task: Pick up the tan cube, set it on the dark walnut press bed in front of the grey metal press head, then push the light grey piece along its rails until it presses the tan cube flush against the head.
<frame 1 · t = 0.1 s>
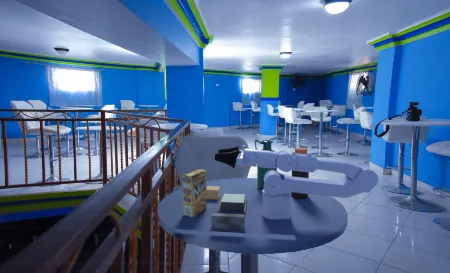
hand: (216, 154, 97), 22 cm above the table, tool horizontal, fingers open, 7 cm apart
candy box: (195, 214, 101), on the table
tan cube: (213, 199, 116), on the table
light grey piece: (233, 202, 106), point 3 cm above the table, slide at 0.0 cm
bottle: (299, 196, 119), on the table
pitcher: (265, 188, 130), on the table
press bed: (231, 216, 100), on the table
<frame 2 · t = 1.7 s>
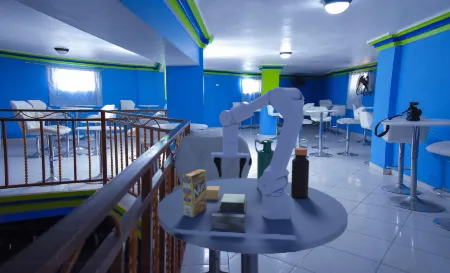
hand: (230, 177, 111), 10 cm above the table, tool pointing down, fingers open, 7 cm apart
nothing on the table moved.
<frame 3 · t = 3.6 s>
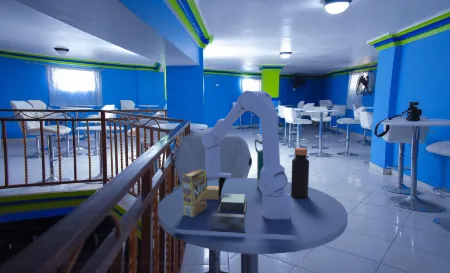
hand: (213, 195, 115), 2 cm above the table, tool pointing down, fingers closed on tan cube, 5 cm apart
tan cube: (213, 199, 116), on the table, touching gripper
everything else where it was.
when the fingers open (4 cm above the table, at t = 8.6 s): tan cube stays where it is, resting on press bed.
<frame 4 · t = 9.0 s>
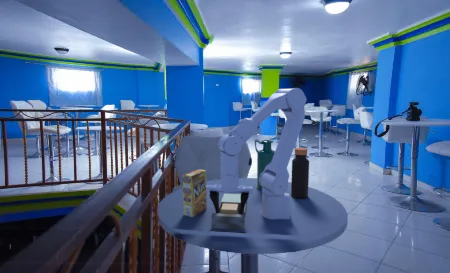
hand: (229, 214, 92), 4 cm above the table, tool pointing down, fingers open, 7 cm apart
tan cube: (229, 221, 93), point 1 cm above the table, touching press bed
everything else where it was.
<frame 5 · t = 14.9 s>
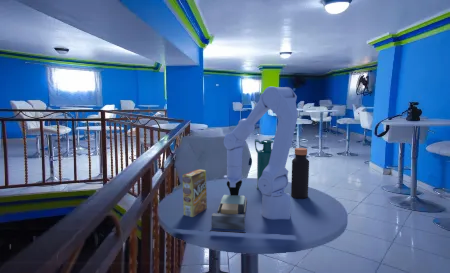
hand: (234, 199, 110), 2 cm above the table, tool pointing down, fingers closed
light grey piece: (233, 203, 104), point 3 cm above the table, slide at 1.5 cm, touching gripper
everything else where it was.
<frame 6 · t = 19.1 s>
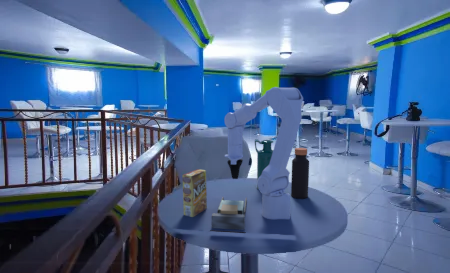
hand: (235, 178, 112), 9 cm above the table, tool pointing down, fingers closed
tan cube: (229, 222, 92), point 1 cm above the table, touching press bed, light grey piece
light grey piece: (231, 209, 99), point 3 cm above the table, slide at 6.9 cm, touching tan cube
everything else where it was.
at the end: tan cube 0.1 cm from the target spot on the press bed, point 1.0 cm above the press bed's base; tan cube tilted 0°; light grey piece slide at 6.9 cm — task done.
